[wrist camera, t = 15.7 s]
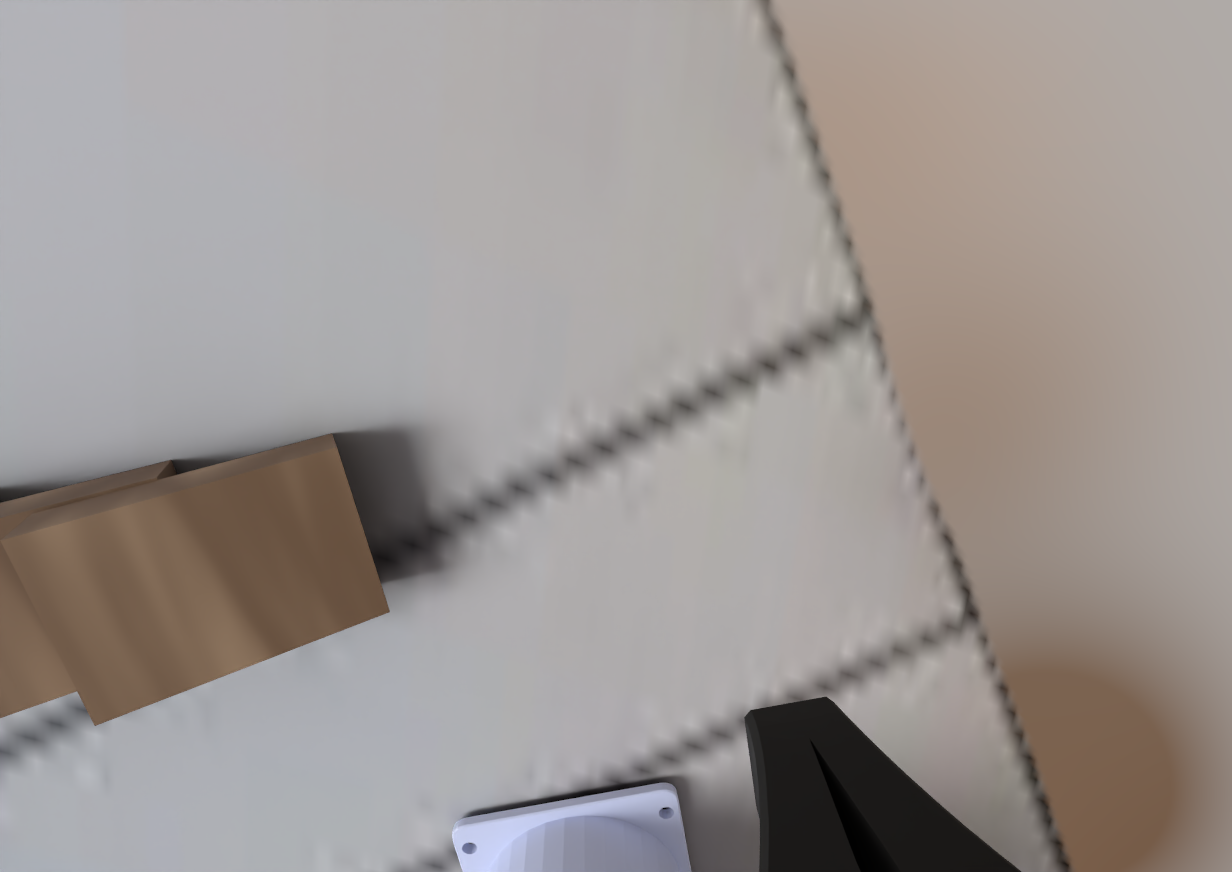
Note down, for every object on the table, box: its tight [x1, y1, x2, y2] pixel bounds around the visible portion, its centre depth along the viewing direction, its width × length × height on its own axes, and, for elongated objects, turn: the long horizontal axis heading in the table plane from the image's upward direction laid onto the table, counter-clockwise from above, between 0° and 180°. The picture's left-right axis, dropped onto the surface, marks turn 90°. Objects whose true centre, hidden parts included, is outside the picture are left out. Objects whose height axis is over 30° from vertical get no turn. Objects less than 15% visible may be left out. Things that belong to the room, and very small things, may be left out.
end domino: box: [0, 433, 390, 726], centre depth 17 cm, size 2×5×7 cm
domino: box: [0, 460, 177, 718], centre depth 17 cm, size 2×5×7 cm
